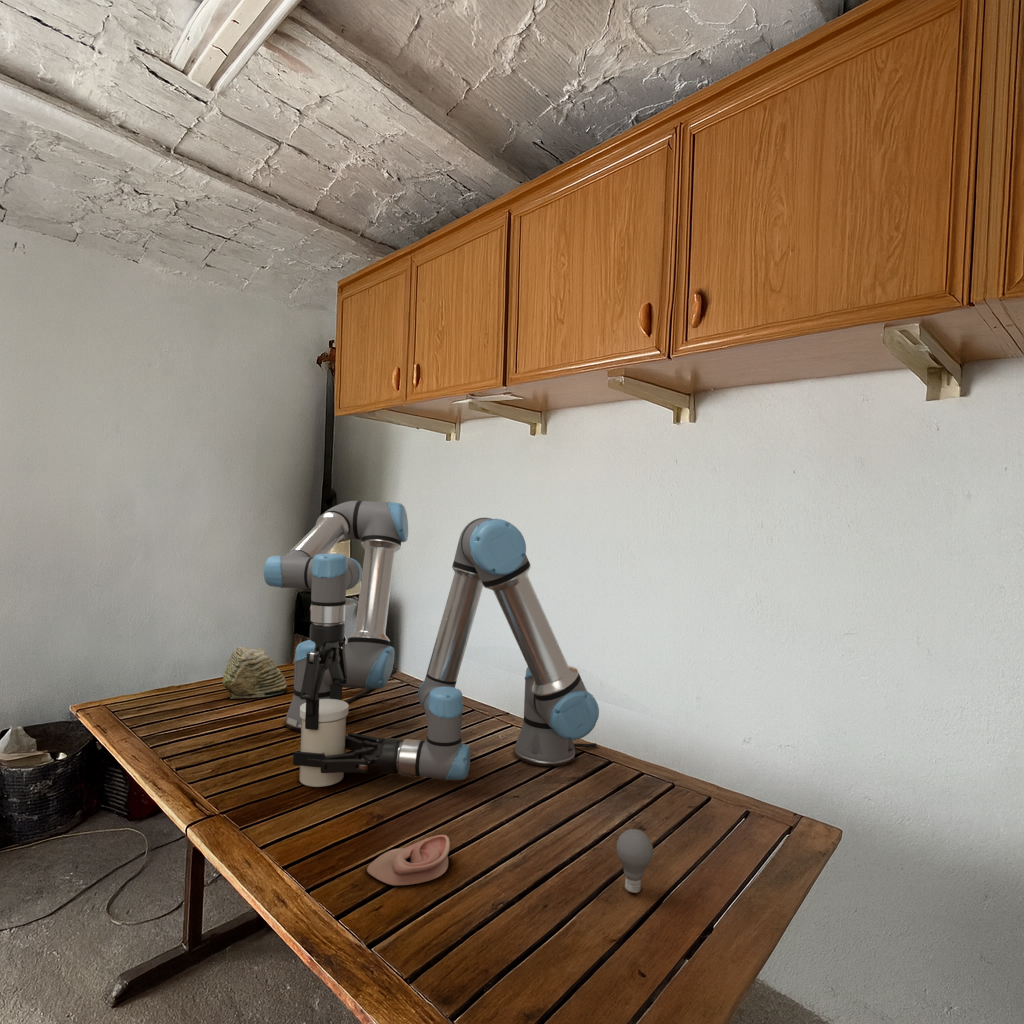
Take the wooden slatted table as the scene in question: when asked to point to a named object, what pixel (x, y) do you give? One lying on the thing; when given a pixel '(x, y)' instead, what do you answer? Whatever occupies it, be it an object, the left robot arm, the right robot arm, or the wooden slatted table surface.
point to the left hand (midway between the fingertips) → (323, 720)
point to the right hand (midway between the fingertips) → (304, 748)
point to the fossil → (252, 674)
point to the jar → (322, 750)
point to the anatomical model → (412, 862)
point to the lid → (328, 710)
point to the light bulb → (634, 857)
